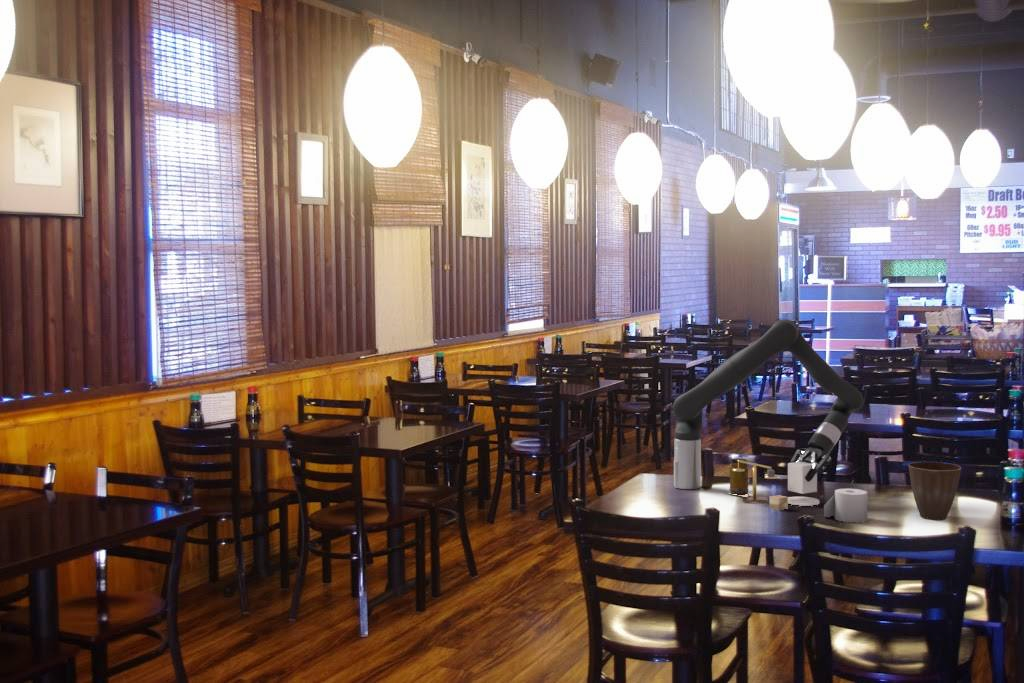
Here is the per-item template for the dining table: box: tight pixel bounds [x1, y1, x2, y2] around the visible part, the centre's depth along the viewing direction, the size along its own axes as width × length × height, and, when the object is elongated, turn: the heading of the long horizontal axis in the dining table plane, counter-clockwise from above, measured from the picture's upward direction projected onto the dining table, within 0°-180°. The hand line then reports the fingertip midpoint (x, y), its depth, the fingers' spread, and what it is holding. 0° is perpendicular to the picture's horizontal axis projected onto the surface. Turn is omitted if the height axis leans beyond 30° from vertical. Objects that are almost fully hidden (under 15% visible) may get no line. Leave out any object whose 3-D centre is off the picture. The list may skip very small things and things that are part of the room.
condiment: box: [729, 458, 749, 495], centre depth 354 cm, size 7×8×12 cm
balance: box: [732, 460, 778, 504], centre depth 342 cm, size 15×5×14 cm, turn 85°
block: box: [769, 494, 789, 511], centre depth 331 cm, size 4×4×4 cm
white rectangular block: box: [787, 461, 818, 495], centre depth 339 cm, size 6×6×9 cm
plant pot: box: [908, 461, 962, 521], centre depth 317 cm, size 15×15×16 cm
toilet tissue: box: [823, 487, 868, 523], centre depth 315 cm, size 9×13×9 cm
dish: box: [787, 495, 820, 507], centre depth 339 cm, size 11×11×1 cm
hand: (798, 478), depth 338 cm, fingers closed on white rectangular block, 6 cm apart
